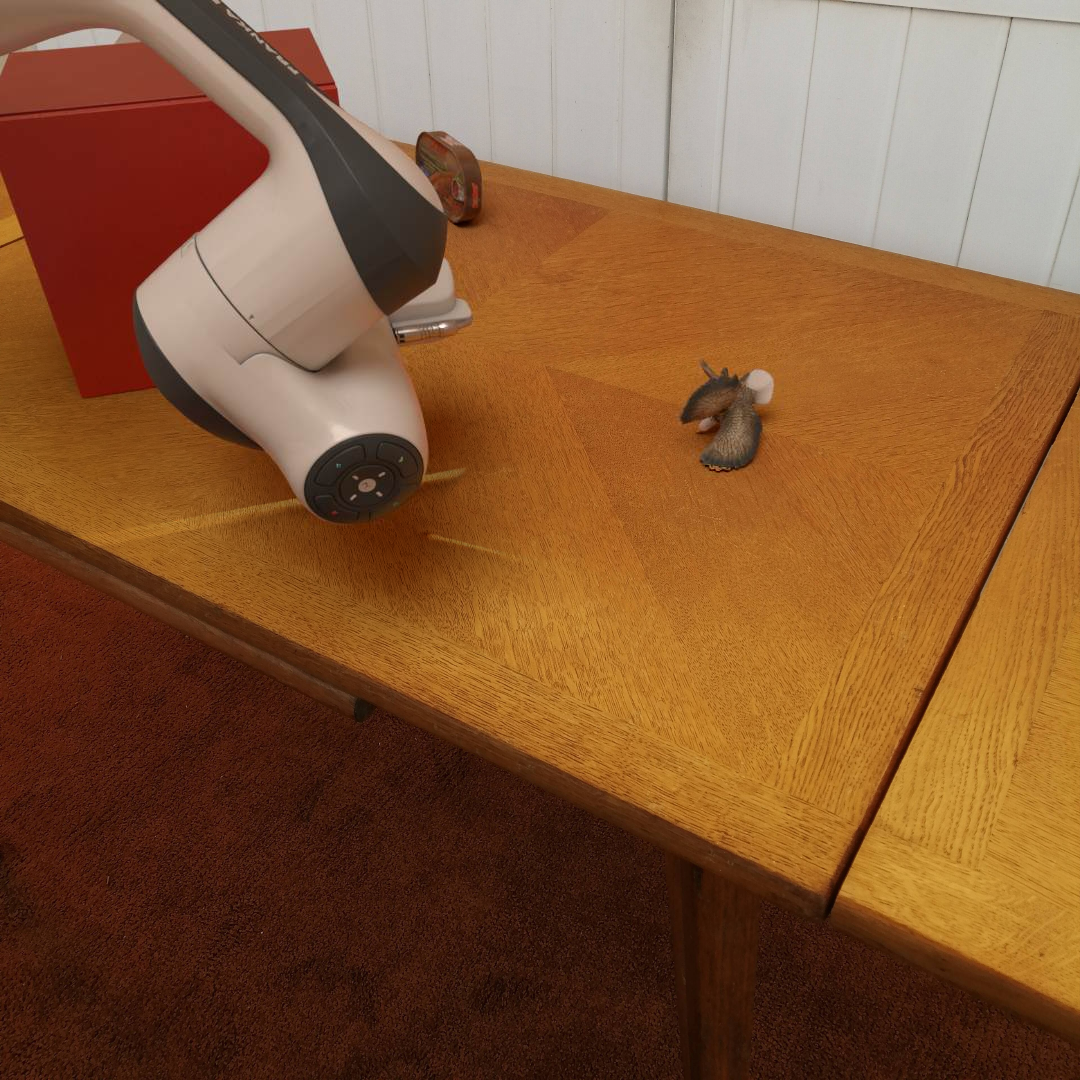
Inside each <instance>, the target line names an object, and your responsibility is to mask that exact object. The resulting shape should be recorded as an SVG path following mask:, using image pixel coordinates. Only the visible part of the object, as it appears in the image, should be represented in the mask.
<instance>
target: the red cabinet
mask: <svg viewBox="0 0 1080 1080" xmlns="http://www.w3.org/2000/svg"><path fill="white" fill-rule="evenodd" d="M256 32H257V33H258V34H259V35H260V36H261V37H262V38H264V39H265V40H266V41H267V42H268V43H269V44H270V45H271V46H272V47H274V48H275V49H276V50H277V51H278V52H279V53H280V54H281V55H282V56H284V57H285V58H286V59H287V60H288V61H289V62H290V63H291V64H293V65H294V66H295V67H296V68H297V69H298V70H299V71H300V72H301V73H303V74H304V75H305V76H306V77H307V78H308V79H309V80H310V81H311V82H313V83H314V84H315V85H316V86H327V85H336V81H335V79H334V77H333V75H332V73H331V70H330V68H329V65H328V63H327V62H326V60H325V58H324V56H323V54H322V52H321V50H320V49H321V48H320V47H319V45H318V43H317V41H316V39H315V37H314V35H313V33H312V30H311V28H310V27H301V28H289V29H277V30H265V31H256ZM202 97H207V96H206V95H205V94H204V93H203V92H201V91H200V90H199V89H198V88H197V87H196V86H194V85H193V84H192V83H191V82H190V81H189V80H187V79H186V78H185V77H184V76H183V75H181V74H180V73H179V72H178V71H177V70H176V69H174V68H173V67H172V66H171V65H170V64H169V63H167V62H166V61H165V60H164V59H163V58H162V57H160V56H159V55H158V54H157V53H156V52H154V51H153V50H152V49H151V48H149V47H148V46H147V45H145V44H144V43H143V42H134V43H122V44H115V43H111V44H99V45H88V46H76V47H65V48H64V47H63V48H54V49H53V48H52V49H50V48H49V49H40V50H28V51H27V50H26V51H15V52H12V53H9V54H7V58H6V60H5V62H4V65H3V68H2V70H1V72H0V117H5V116H16V115H26V114H36V113H47V112H57V111H68V110H78V109H88V108H99V107H109V106H119V105H130V104H140V103H150V102H161V101H171V100H182V99H192V98H202Z"/></svg>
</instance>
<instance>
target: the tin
mask: <svg viewBox="0 0 1080 1080" xmlns="http://www.w3.org/2000/svg"><path fill="white" fill-rule="evenodd" d="M414 153H415V156H414V160H415V164H416V165H417V166H418V167H419V168H420V169H421V170H422V172H423V173H424V174H425V176H426V177H427V178H428V180H429V181H430V183H431V184H432V186H433V187H434V189H435V191H436V193H437V194H438V196H439V199H440V201H441V204H442V206H443V208H444V209H445V211H446V212H447V214H448V221H450V222H451V223H454V224H459V223H460V222H466V221H467V222H468V221H473V220H476V218H478V216H479V215H480V213H481V211H482V208H483V207H482V199H483V198H482V197H483V187H482V183H483V178H482V177H483V176H482V172H481V168H480V163H479V161H478V160H477V158H476V155H475V154H474V152H473V151H472V150H471V149H470V148H468V147H467V146H466V145H464V144H463V143H461V142H460V141H458V139H455V137H453V136H451V135H450V134H449V133H447V132H446V131H443V130H435V131H425V130H424V131H422V132H420V134H419V135H418V136H417V140H416V144H415V152H414Z"/></svg>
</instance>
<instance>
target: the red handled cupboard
mask: <svg viewBox="0 0 1080 1080" xmlns="http://www.w3.org/2000/svg"><path fill="white" fill-rule="evenodd" d="M317 87H318V88H319V89H321V90H322V91H323V92H324V93H325V94H326V95H327V96H329V97H330V98H331V99H332V100H333V101H334V102H336V103H337V104H338V105H339V106H340V107H341V104H340V98H339V90H338V87H337V84H335V85H327V86H317ZM269 158H270V155H269V151H268V149H267V148H266V147H265V145H264V144H262V143H261V142H260V141H259V140H258V139H257V138H255V137H254V136H253V135H252V134H251V133H250V132H248V131H247V130H246V129H245V128H244V127H243V126H241V125H240V124H239V123H238V122H237V121H235V120H234V119H233V118H232V117H231V116H230V115H228V114H227V113H226V112H225V111H224V110H223V109H221V108H220V107H219V106H218V105H217V104H216V103H214V102H213V101H212V100H211V99H210V98H208V97H202V98H192V99H182V100H171V101H161V102H150V103H140V104H130V105H119V106H109V107H99V108H88V109H78V110H68V111H57V112H47V113H36V114H26V115H16V116H5V117H0V175H1V177H2V180H3V182H4V185H5V188H6V191H7V194H8V197H9V199H10V203H11V205H12V209H13V210H14V214H15V216H16V219H17V222H18V225H19V227H20V230H21V233H22V236H23V238H24V242H25V244H26V246H27V249H28V252H29V256H30V257H31V261H32V264H33V267H34V269H35V271H36V275H37V277H38V280H39V283H40V286H41V288H42V291H43V294H44V296H45V301H46V302H47V306H48V307H49V311H50V314H51V317H52V319H53V322H54V324H55V328H56V330H57V333H58V336H59V338H60V341H61V344H62V346H63V350H64V352H65V355H66V357H67V361H68V363H69V366H70V369H71V372H72V375H73V377H74V379H75V382H76V385H77V388H78V391H79V393H80V397H81V399H87V398H94V397H101V396H108V395H113V394H121V393H128V392H133V391H140V390H147V389H153V388H157V387H156V385H155V384H154V382H153V381H152V379H151V377H150V376H149V374H148V372H147V370H146V368H145V365H144V363H143V360H142V357H141V354H140V350H139V347H138V343H137V339H136V334H135V329H134V323H133V297H134V293H135V289H136V288H137V286H139V285H141V284H142V283H143V282H144V281H145V280H146V279H147V278H148V277H149V276H150V275H151V274H152V273H153V272H154V271H155V270H156V269H157V268H158V267H159V266H160V265H161V264H162V263H163V262H165V261H166V260H167V259H168V258H169V257H170V256H171V255H172V254H173V253H174V252H175V251H176V250H178V249H179V248H180V247H181V246H182V245H183V244H184V243H185V242H186V241H188V240H189V239H190V238H191V237H192V236H193V235H194V234H195V233H197V232H200V231H201V230H202V229H203V228H205V227H206V226H207V225H208V224H209V223H210V222H211V221H212V220H213V219H214V218H216V217H217V216H218V215H219V214H220V213H221V212H222V211H223V210H224V209H225V208H227V207H228V206H229V205H230V204H231V203H232V202H233V201H234V200H235V199H237V198H238V197H239V196H240V195H241V194H242V193H243V192H244V191H245V190H246V189H248V188H249V187H250V186H251V185H252V184H253V183H254V182H255V181H256V180H257V179H258V178H259V177H260V176H261V175H262V174H263V173H264V171H265V170H266V168H267V166H268V163H269Z"/></svg>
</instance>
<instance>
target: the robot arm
mask: <svg viewBox="0 0 1080 1080" xmlns="http://www.w3.org/2000/svg"><path fill="white" fill-rule="evenodd" d="M91 29H105V30H114V31H118V32H121V33H122V32H124V33H127V34H129V35H131V36H133V37H134V38H136V39H138V40H140V41H141V42H143V43H144V44H145V45H147V46H148V47H149V48H151V49H152V50H153V51H154V52H156V53H157V54H158V55H159V56H160V57H162V58H163V59H164V60H165V61H166V62H167V63H169V64H170V65H171V66H172V67H173V68H174V69H176V70H177V71H178V72H179V73H180V74H181V75H183V76H184V77H185V78H186V79H187V80H189V81H190V82H191V83H192V84H193V85H194V86H196V87H197V88H198V89H199V90H200V91H201V92H203V93H204V94H205V95H206V96H207V97H208V98H210V99H211V100H212V101H213V102H214V103H216V104H217V105H218V106H219V107H220V108H221V109H223V110H224V111H225V112H226V113H227V114H228V115H230V116H231V117H232V118H233V119H234V120H235V121H237V122H238V123H239V124H240V125H241V126H243V127H244V128H245V129H246V130H247V131H248V132H250V133H251V134H252V135H253V136H254V137H255V138H257V139H258V140H259V141H260V142H261V143H262V144H264V145H265V147H266V148H267V149H268V151H269V155H270V158H269V163H268V166H267V168H266V170H265V171H264V173H263V174H262V175H261V176H260V177H259V178H258V179H257V180H256V181H255V182H254V183H253V184H252V185H251V186H250V187H249V188H248V189H246V190H245V191H244V192H243V193H242V194H241V195H240V196H239V197H238V198H237V199H235V200H234V201H233V202H232V203H231V204H230V205H229V206H228V207H227V208H225V209H224V210H223V211H222V212H221V213H220V214H219V215H218V216H217V217H216V218H214V219H213V220H212V221H211V222H210V223H209V224H208V225H207V226H206V227H205V228H203V229H202V230H201V231H200V232H197V233H195V234H194V235H193V236H192V237H191V238H190V239H189V240H188V241H186V242H185V243H184V244H183V245H182V246H181V247H180V248H179V249H178V250H176V251H175V252H174V253H173V254H172V255H171V256H170V257H169V258H168V259H167V260H166V261H165V262H163V263H162V264H161V265H160V266H159V267H158V268H157V269H156V270H155V271H154V272H153V273H152V274H151V275H150V276H149V277H148V278H147V279H146V280H145V281H144V282H143V283H142V284H141V285H139V286H137V288H136V289H135V293H134V297H133V323H134V329H135V334H136V339H137V343H138V347H139V350H140V354H141V357H142V360H143V363H144V365H145V368H146V370H147V372H148V374H149V376H150V377H151V379H152V381H153V382H154V384H155V385H156V387H155V388H156V389H158V391H159V392H160V393H161V394H162V396H163V397H164V399H165V400H167V401H168V402H169V404H171V405H172V406H173V407H174V408H175V409H176V410H177V411H178V412H180V413H181V414H182V415H183V416H184V417H185V418H187V420H189V421H190V422H192V424H194V425H196V426H198V427H199V428H201V429H202V430H204V431H206V432H207V433H209V434H211V435H213V436H214V437H217V438H219V439H220V440H223V441H224V442H225V441H226V442H228V443H231V444H235V445H237V446H240V447H243V448H247V449H250V450H254V451H256V452H257V451H258V452H263V453H266V454H267V456H269V457H270V459H271V460H272V461H273V462H274V463H275V465H276V466H277V467H278V469H279V470H280V471H281V473H282V475H283V476H284V478H285V480H286V482H287V483H288V485H289V487H290V488H291V490H292V492H293V493H294V496H295V497H296V498H297V500H298V501H299V502H300V503H301V505H302V506H303V507H304V508H305V509H306V510H307V511H308V512H310V513H311V514H312V515H314V516H315V517H316V518H318V519H320V520H322V521H325V522H328V523H330V524H335V525H340V526H341V525H343V526H351V525H352V526H353V525H361V524H366V523H371V522H374V521H377V520H379V519H381V518H383V517H386V516H387V515H389V514H391V513H393V512H394V511H396V510H397V509H398V508H400V507H401V506H402V505H404V504H405V503H406V502H407V501H408V500H410V499H411V498H412V497H413V496H414V495H415V494H416V493H417V492H418V490H419V489H420V487H421V486H422V484H423V482H424V479H425V476H426V473H427V470H428V466H429V465H428V464H429V441H428V435H427V434H428V433H427V429H426V424H425V419H424V415H423V410H422V407H421V404H420V401H419V398H418V394H417V391H416V388H415V386H414V383H413V381H412V379H411V377H410V375H409V373H408V372H407V370H406V369H405V367H404V360H403V356H402V353H401V352H402V351H401V350H400V348H404V347H411V346H416V345H424V344H430V343H436V342H440V341H443V340H446V339H449V338H450V337H452V336H456V335H458V332H459V330H461V329H464V328H467V327H469V326H472V324H473V320H474V314H473V312H472V310H471V307H470V305H469V304H468V302H467V301H466V300H464V299H462V298H460V297H456V287H455V279H454V274H453V270H452V267H451V264H450V262H449V260H448V259H447V258H445V253H446V247H447V239H448V222H449V219H448V214H447V212H446V211H445V209H444V208H443V206H442V204H441V201H440V199H439V196H438V194H437V193H436V191H435V189H434V187H433V186H432V184H431V183H430V181H429V180H428V178H427V177H426V176H425V174H424V173H423V172H422V170H421V169H420V168H419V167H418V166H417V165H416V161H414V160H413V159H412V158H411V157H409V155H408V154H407V153H406V152H405V151H403V150H402V149H401V148H400V147H399V146H398V145H396V144H395V143H393V142H392V141H391V140H389V139H388V138H387V137H385V136H384V135H383V134H381V133H380V132H378V131H377V130H375V129H373V128H372V127H371V126H369V125H368V124H366V123H364V122H363V121H361V120H360V119H358V118H356V117H355V116H353V115H352V114H351V113H349V112H348V111H346V110H345V109H344V108H343V107H342V106H341V105H340V106H339V105H338V104H337V103H336V102H334V101H333V100H332V99H331V98H330V97H329V96H327V95H326V94H325V93H324V92H323V91H322V90H321V89H319V88H318V87H317V86H316V85H315V84H314V83H313V82H311V81H310V80H309V79H308V78H307V77H306V76H305V75H304V74H303V73H301V72H300V71H299V70H298V69H297V68H296V67H295V66H294V65H293V64H291V63H290V62H289V61H288V60H287V59H286V58H285V57H284V56H282V55H281V54H280V53H279V52H278V51H277V50H276V49H275V48H274V47H272V46H271V45H270V44H269V43H268V42H267V41H266V40H265V39H264V38H262V37H261V36H260V35H259V34H258V33H257V32H258V31H256V30H255V29H254V28H253V27H251V26H250V25H249V24H248V23H247V22H246V21H245V20H244V19H243V18H241V17H240V16H239V15H238V14H237V13H236V12H235V11H233V9H232V8H231V7H229V6H228V5H227V4H226V3H225V2H224V1H222V0H0V58H1V57H4V56H6V55H9V53H15V52H19V51H20V50H23V49H26V48H28V47H31V46H35V45H36V44H39V43H42V42H45V41H49V40H50V39H54V38H57V37H60V36H64V35H67V34H70V33H74V32H80V31H84V30H91Z"/></svg>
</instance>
